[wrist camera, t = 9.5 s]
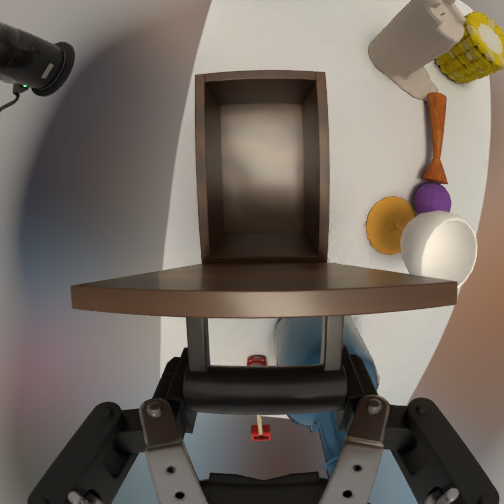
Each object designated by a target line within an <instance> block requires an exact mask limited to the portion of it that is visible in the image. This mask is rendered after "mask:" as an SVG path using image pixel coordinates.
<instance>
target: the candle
mask: <svg viewBox="0 0 504 504" xmlns="http://www.w3.org/2000/svg"><path fill="white" fill-rule="evenodd" d="M454 2H455V0H411V1H410V2H409V3H408V4H407V5H406V6H405V7H404V8H403V9H402V10H401V11H400V12H399V13H398V14H397V15H396V16H395V17H394V18H393V20H392V21H391V22H390V23H389V24H388V25H387V26H386V27H385V28H384V29H383V30H382V31H381V32H380V33H379V35H378V36H377V37H376V38H375V39H374V40H373V41H372V42H371V43H370V45H369V56H370V58H371V60H372V62H373V64H374V65H375V66H376V67H377V68H378V69H379V70H380V71H381V72H383V73H384V74H386V75H387V76H388V77H389V78H390V79H391V80H393V81H394V82H395V83H396V84H397V85H398V86H399V87H401V88H402V89H403V90H404V91H406V92H407V93H408V94H410V95H411V96H412V97H414V98H417V99H423V100H424V101H425V102H426V103H427V104H428V100H427V94H428V93H430V92H437V93H438V90H437V88H436V86H435V85H434V84H433V83H432V82H431V80H430V78H429V75H428V73H427V71H426V70H425V68H424V67H423V66H424V65H426V64H427V63H429V62H430V61H432V60H434V59H435V58H437V57H439V56H441V55H443V54H444V53H446V52H447V51H449V50H450V49H451V48H452V47H453V46H455V45H456V44H457V43H458V42H459V41H460V40H461V39H462V37H463V35H464V31H465V30H464V27H463V25H464V23H465V21H466V19H465V17H464V16H463V14H462V13H461V12H460V10H459V9H458V8H457V7H456V6H455V4H454Z"/></svg>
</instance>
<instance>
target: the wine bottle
mask: <svg viewBox="0 0 504 504" xmlns="http://www.w3.org/2000/svg"><path fill="white" fill-rule="evenodd" d="M322 318H323V317H302V318H282V319H281V320H280V322H279V323H278V324H277V325H276V327H275V341H274V350H275V366H292V365H313V364H320V362H321V344H322ZM343 345H346V347H347V350H348V352H349V354H357V355H358V356H359V357H360V358H361V359H362V360H363V362H364V364H365V366H366V369H367V370H368V373H369V375H370V377H371V380H372V382H373V384H374V386H375V389H376V391H377V388H378V386H379V380H380V378H379V375H378V372H377V370H376V367H375V364H374V361H373V359H372V357H371V355H370V353H369V351H368V349H367V347H366V345H365V343H364V341H363V339H362V338H361V336H360V334H359V332H358V330H357V328H356V326H355V324H354V323H353V321H352V319H351V317H350V315H345V316H344V329H343ZM287 416H288V417H289V418H290V419H291V421H292V422H294V423H296V424H299V425H303V426H307V427H310V432H319V433H320V438H321V442H322V447H323V451H324V456H325V461H326V465H325V467H324V469H325V470H326V473H327V476H328V479H330V478H331V475H332V473H333V471H334V468H335V466H336V463H337V461H338V458H339V456H340V453H341V451H342V448H343V446H344V443H345V440H346V437H347V433H346V431H340V432H339V431H338V427H337V423H336V419H335V414H334V411H328V412H317V413H303V414H287Z"/></svg>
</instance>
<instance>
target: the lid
mask: <svg viewBox="0 0 504 504" xmlns="http://www.w3.org/2000/svg"><path fill="white" fill-rule="evenodd" d="M457 287H458V282H457V281H452V280H445V279H439V278H432V277H425V276H418V275H411V274H404V273H397V272H391V271H384V270H377V269H370V268H363V267H356V266H349V265H342V264H336V263H329V262H318V263H249V264H198V265H192V266H186V267H180V268H174V269H168V270H162V271H156V272H151V273H145V274H139V275H133V276H127V277H121V278H115V279H109V280H103V281H97V282H91V283H86V284H79V285H73V286H71V299H72V308H73V309H80V310H90V311H99V312H111V313H122V314H135V315H151V316H169V317H186V326H187V342H188V355H189V365H188V367H187V369H186V372H185V376H184V383H183V398H184V404H185V407H186V409H187V410H188V411H192V412H203V413H217V414H239V415H240V414H241V415H242V414H243V415H281V414H303V413H317V412H328V411H338V410H342V409H343V408H344V406H345V403H346V398H347V378H346V373H345V369H344V367H343V365H342V364H341V359H342V346H343V329H344V316H345V315H360V314H374V313H386V312H397V311H407V310H416V309H425V308H434V307H441V306H449V305H455V304H456V302H457ZM302 317H323V318H322V344H321V362H320V364H313V365H292V366H221V365H210V354H209V334H208V318H302Z"/></svg>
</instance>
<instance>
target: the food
mask: <svg viewBox="0 0 504 504" xmlns="http://www.w3.org/2000/svg"><path fill="white" fill-rule="evenodd" d="M464 17H465V19H466V21H465V23H464V25H463V27H464V30H465V31H464V35H463V37H462V39H461V40H460V41H459V42H458V43H457V44H456V45H455V46H453V47H452V48H451V49H450V50H449V51H447V52H446V53H444V54H443V55H441V56H439V57H437V58H436V62H437V64H438V65H440V68H441V71H442V72H443V73H445V74H447V76H448V77H449V78H450V79H452V80H454V81H456V82H457V83H460V82H461V83H469V82H471V81H473V80H476V79H480V78H483V77H484V76H488V74H489V75H490V74H491V73H495V72H496V71H498V70H501V69H504V35H503V31H502V29H501V28H500V27H499V26H497V25H496V24H495V23H494V21H493V20H492V19H491V18H487V17H486V16H485V15H484V14H482V13H478V12H474V11H473V12H472V13H470V14H468V15H466V16H464Z"/></svg>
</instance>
